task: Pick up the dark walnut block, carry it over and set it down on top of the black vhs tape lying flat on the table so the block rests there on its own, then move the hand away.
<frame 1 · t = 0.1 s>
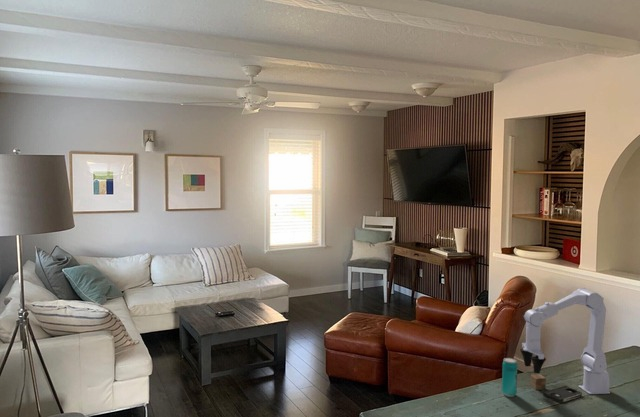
hand: (532, 369, 212), 10 cm above the table, tool pointing down, fingers open, 7 cm apart
vhs tape: (562, 397, 209), on the table
walnut block: (537, 387, 218), on the table
beverage can: (509, 395, 210), on the table
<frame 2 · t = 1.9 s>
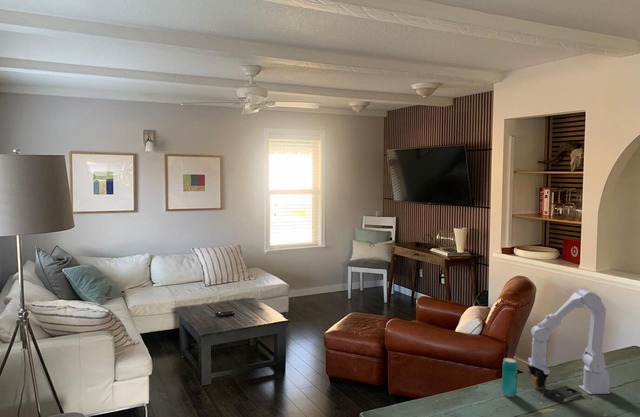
hand: (537, 384, 217), 1 cm above the table, tool pointing down, fingers closed on walnut block, 4 cm apart
walnut block: (537, 387, 218), on the table, touching gripper
everything else where it was.
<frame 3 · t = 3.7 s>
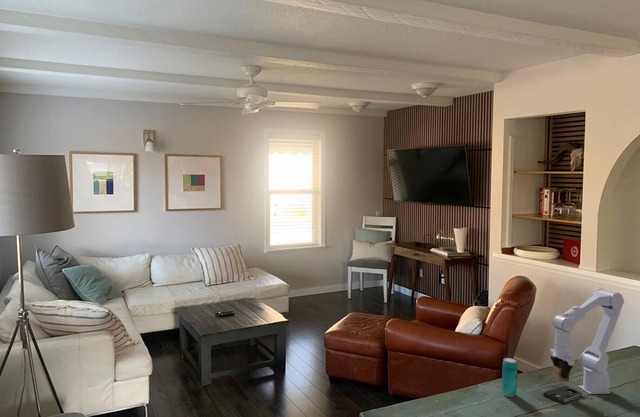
hand: (561, 375, 209), 8 cm above the table, tool pointing down, fingers closed on walnut block, 4 cm apart
walnut block: (560, 379, 209), point 7 cm above the table, touching gripper
everything else where it was.
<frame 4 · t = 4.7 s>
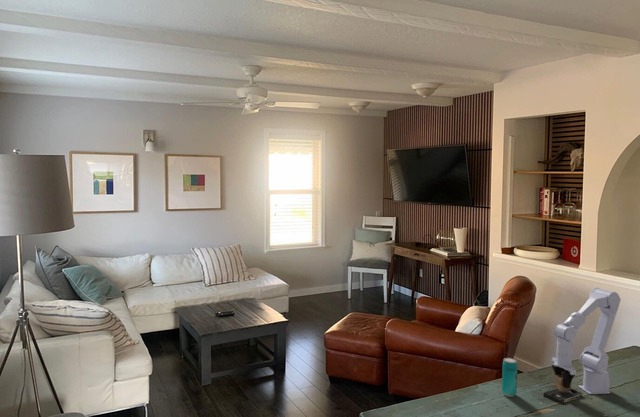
hand: (562, 384, 209), 5 cm above the table, tool pointing down, fingers closed on walnut block, 4 cm apart
walnut block: (562, 388, 209), point 3 cm above the table, touching gripper
everything else where it was.
when the fingers open (5 cm above the table, at t = 5.6 s): walnut block drops 2 cm, resting on vhs tape.
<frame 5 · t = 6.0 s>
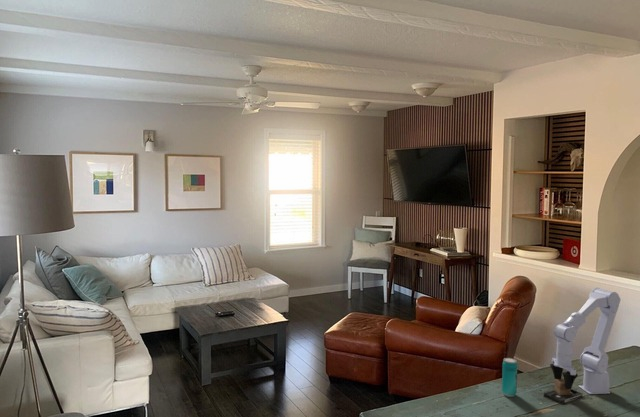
hand: (562, 385, 209), 5 cm above the table, tool pointing down, fingers open, 7 cm apart
vhs tape: (563, 398, 209), on the table, touching walnut block
walnut block: (562, 392, 209), point 1 cm above the table, touching vhs tape
everything else where it was.
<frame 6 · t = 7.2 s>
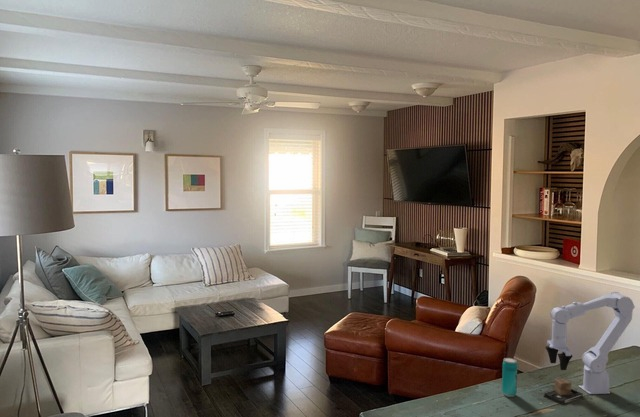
hand: (558, 366, 215), 10 cm above the table, tool pointing down, fingers open, 7 cm apart
nothing on the table moved.
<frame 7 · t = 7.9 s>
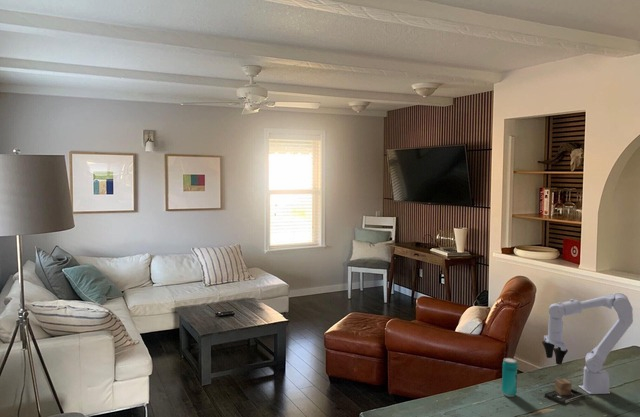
hand: (554, 360, 221), 10 cm above the table, tool pointing down, fingers open, 7 cm apart
nothing on the table moved.
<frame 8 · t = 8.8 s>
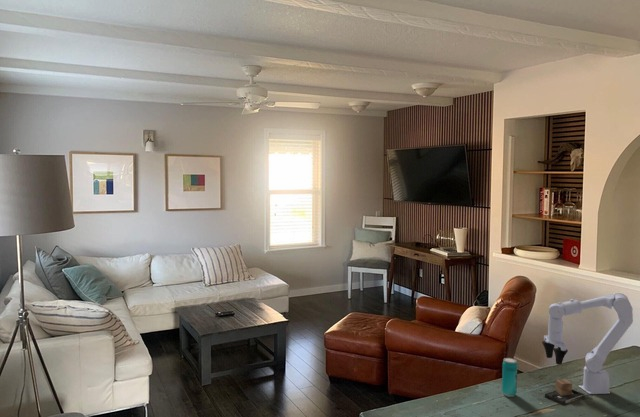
hand: (554, 360, 221), 10 cm above the table, tool pointing down, fingers open, 7 cm apart
nothing on the table moved.
at the end: walnut block inside the target area on the vhs tape (1.0 cm from its centre), point 2.2 cm above the vhs tape's base; walnut block tilted 1°; the gripper is holding nothing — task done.
